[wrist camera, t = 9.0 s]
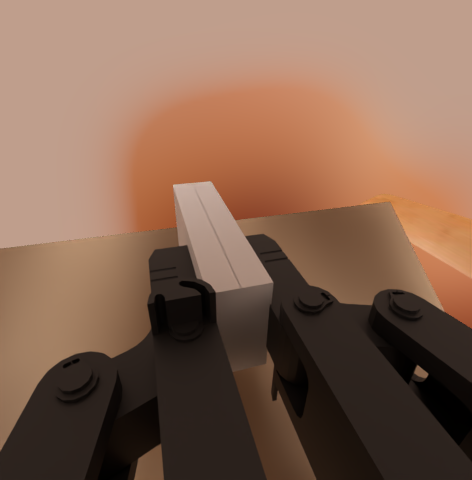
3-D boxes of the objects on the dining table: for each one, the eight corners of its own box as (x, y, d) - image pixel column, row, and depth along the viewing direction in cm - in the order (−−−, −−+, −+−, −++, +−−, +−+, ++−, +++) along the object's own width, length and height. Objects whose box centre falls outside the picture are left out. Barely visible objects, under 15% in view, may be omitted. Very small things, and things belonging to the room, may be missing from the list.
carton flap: (628, 680, 9) (600, 663, 10) (390, 201, 16) (382, 208, 17) (-296, 1324, 5) (-239, 1214, 5) (-80, 258, 12) (-66, 265, 12)
